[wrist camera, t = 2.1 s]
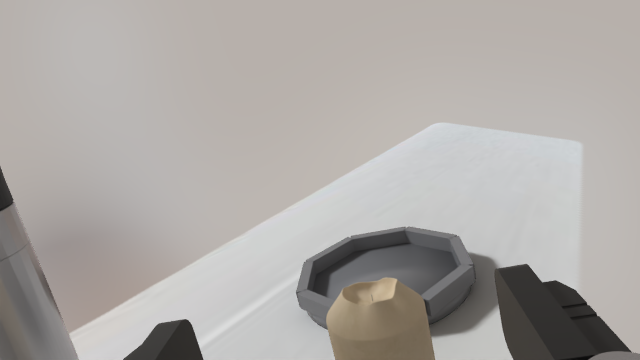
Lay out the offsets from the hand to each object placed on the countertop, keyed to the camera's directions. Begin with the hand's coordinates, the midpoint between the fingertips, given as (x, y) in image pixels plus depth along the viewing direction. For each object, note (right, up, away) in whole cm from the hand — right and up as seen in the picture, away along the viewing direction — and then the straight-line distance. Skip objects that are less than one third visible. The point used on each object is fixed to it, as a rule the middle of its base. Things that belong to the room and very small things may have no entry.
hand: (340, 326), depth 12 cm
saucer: (+6, -7, +33) cm, 34 cm away
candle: (+4, -12, +16) cm, 20 cm away
